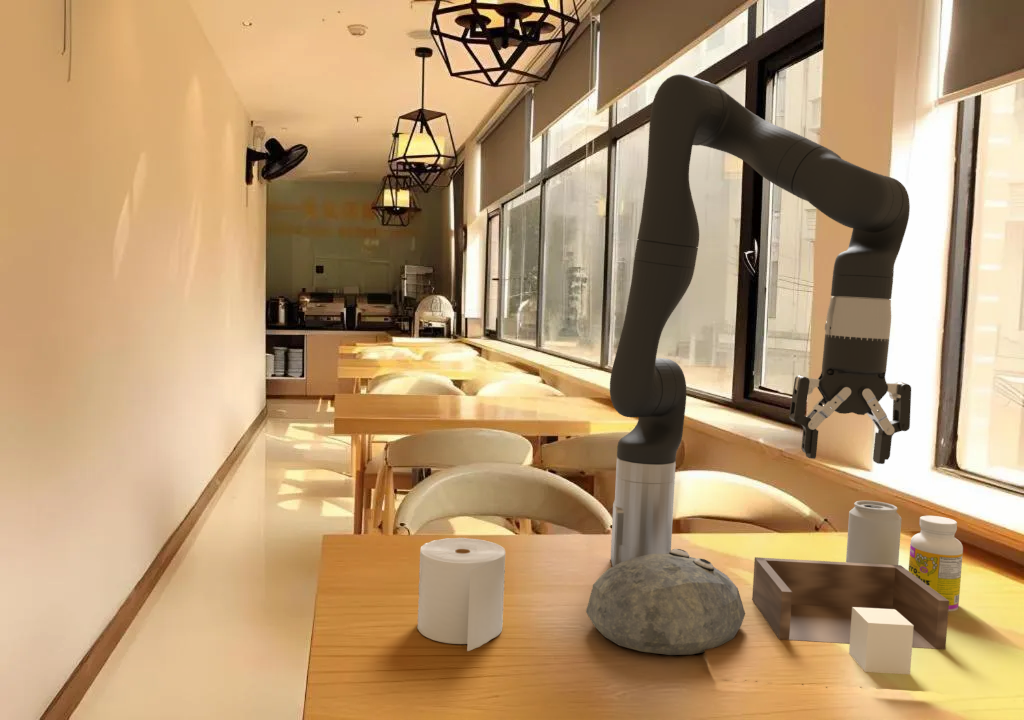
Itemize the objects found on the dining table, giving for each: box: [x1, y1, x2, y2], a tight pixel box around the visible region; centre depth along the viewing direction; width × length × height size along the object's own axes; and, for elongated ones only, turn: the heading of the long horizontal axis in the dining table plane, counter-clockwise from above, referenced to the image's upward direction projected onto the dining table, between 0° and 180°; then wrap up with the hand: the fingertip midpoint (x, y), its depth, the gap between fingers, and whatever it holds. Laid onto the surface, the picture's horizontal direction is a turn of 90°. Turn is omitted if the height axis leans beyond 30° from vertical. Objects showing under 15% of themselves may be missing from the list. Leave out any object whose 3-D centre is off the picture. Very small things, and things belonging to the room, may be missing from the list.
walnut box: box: [751, 556, 949, 650], centre depth 107 cm, size 20×14×7 cm
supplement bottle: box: [907, 515, 964, 612], centre depth 116 cm, size 7×7×13 cm
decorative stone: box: [585, 548, 746, 656], centre depth 104 cm, size 18×21×10 cm
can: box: [845, 500, 903, 565], centre depth 128 cm, size 8×8×12 cm
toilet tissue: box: [417, 537, 506, 652], centre depth 102 cm, size 11×12×10 cm
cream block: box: [848, 607, 914, 675], centre depth 95 cm, size 5×5×6 cm
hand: (844, 460), depth 105 cm, fingers open, 8 cm apart
